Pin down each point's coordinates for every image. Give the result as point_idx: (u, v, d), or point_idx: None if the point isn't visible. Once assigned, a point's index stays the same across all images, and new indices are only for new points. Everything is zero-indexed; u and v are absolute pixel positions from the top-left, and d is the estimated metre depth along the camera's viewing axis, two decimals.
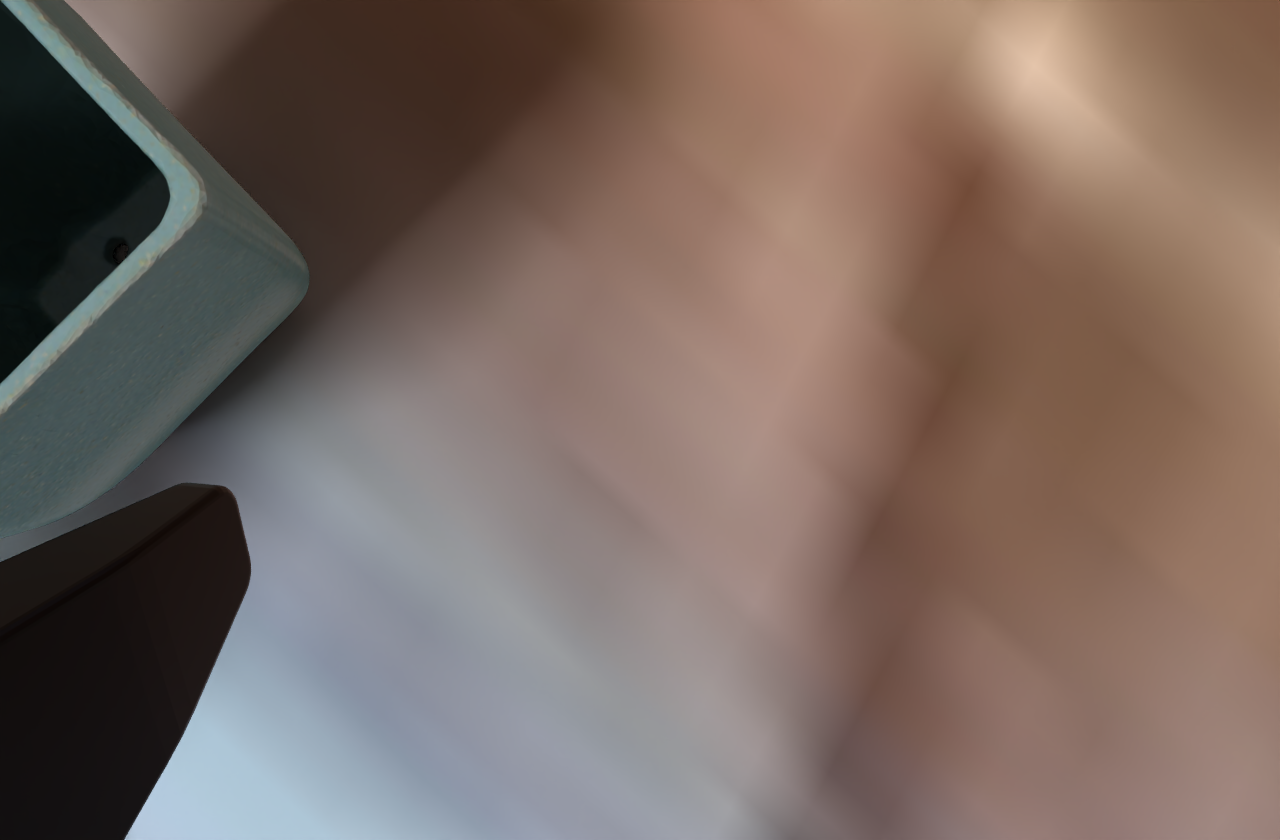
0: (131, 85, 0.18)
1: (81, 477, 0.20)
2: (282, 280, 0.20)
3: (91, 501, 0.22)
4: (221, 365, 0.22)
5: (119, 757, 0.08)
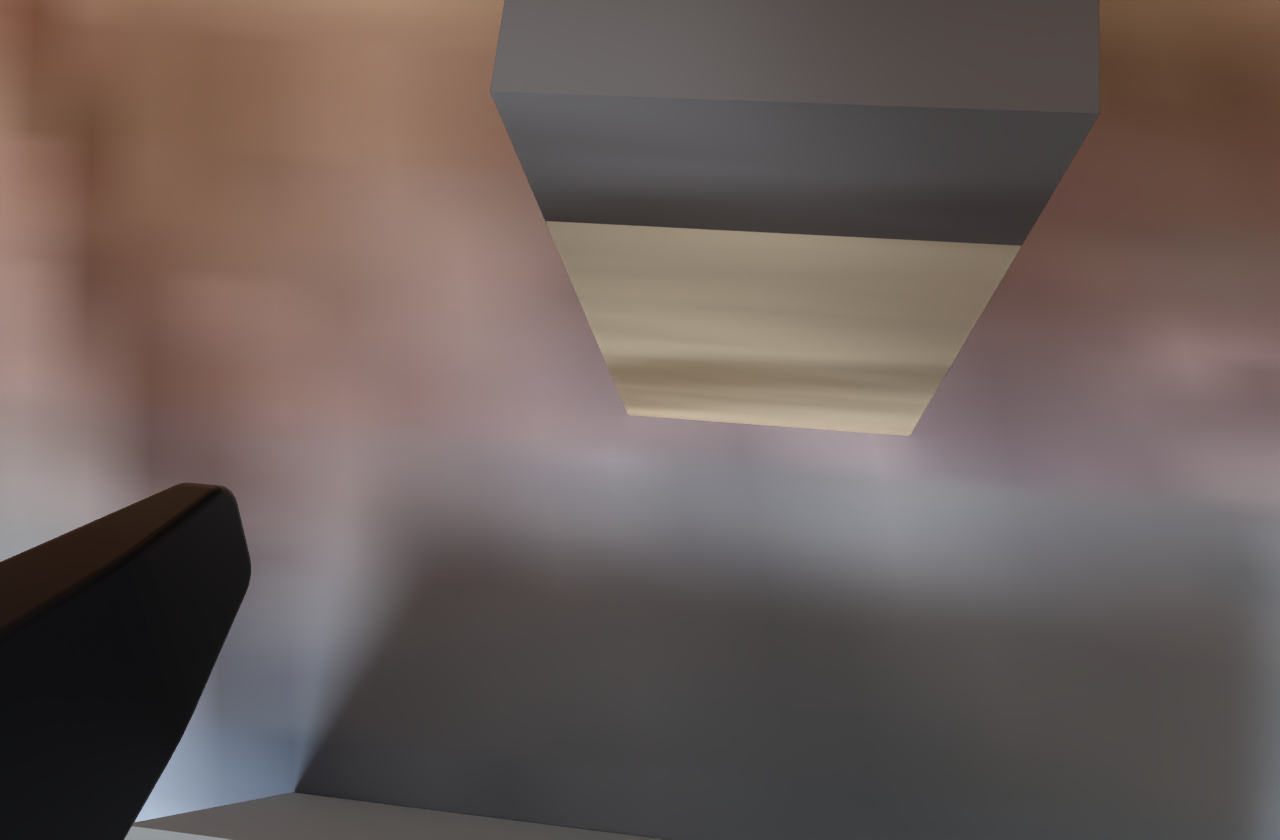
0: None
1: None
2: None
3: None
4: None
5: (119, 757, 0.08)
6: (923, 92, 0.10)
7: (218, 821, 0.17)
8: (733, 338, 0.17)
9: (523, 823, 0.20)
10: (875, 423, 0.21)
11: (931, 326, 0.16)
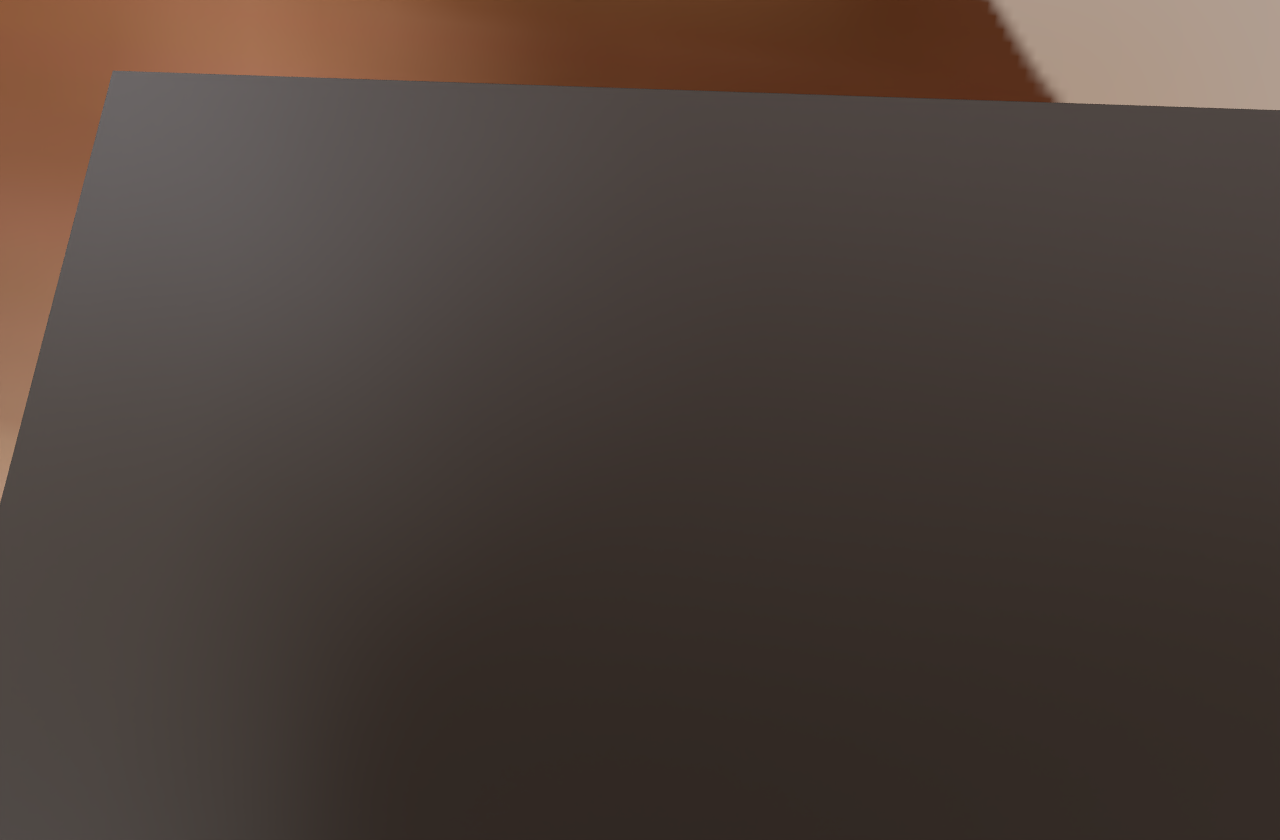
0: None
1: None
2: None
3: None
4: None
5: None
6: None
7: None
8: None
9: None
10: None
11: None
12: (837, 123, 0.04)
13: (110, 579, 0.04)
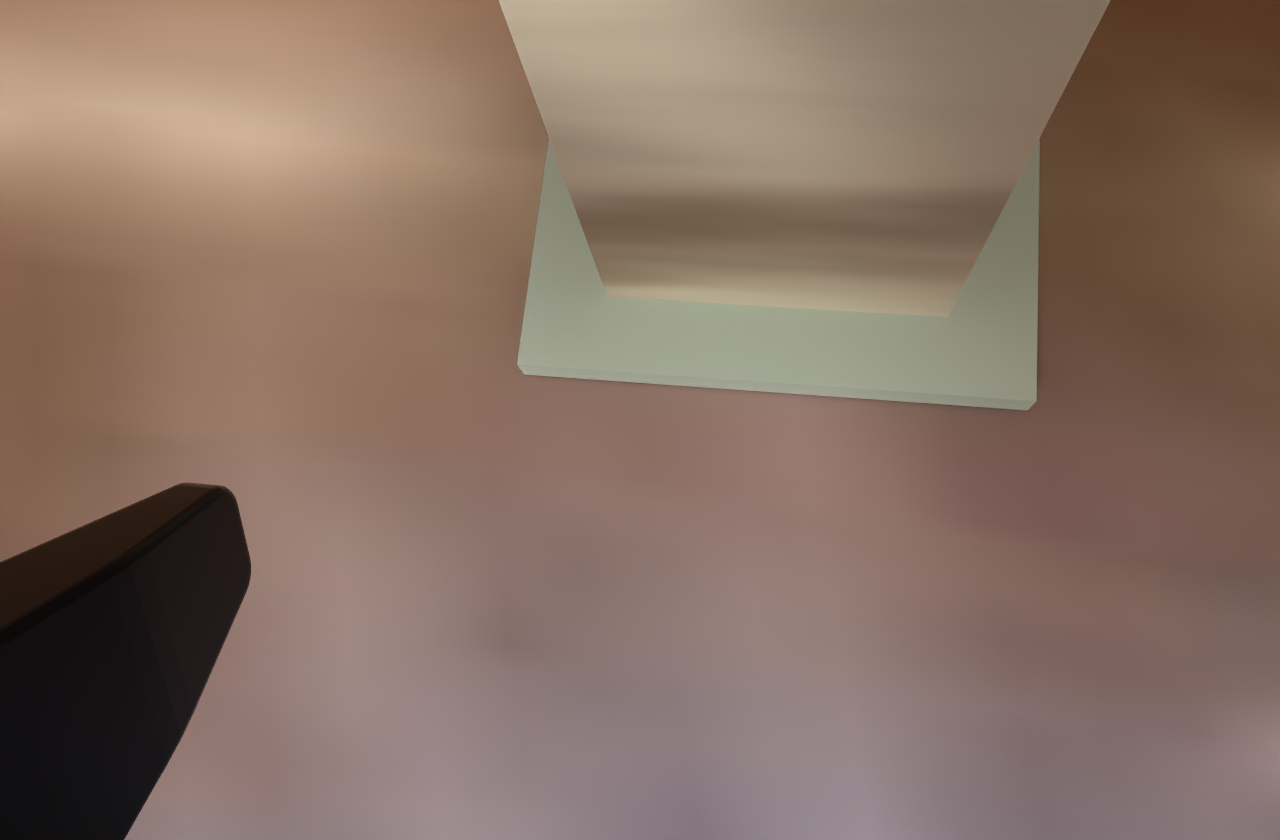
0: None
1: None
2: None
3: None
4: None
5: (119, 757, 0.08)
6: None
7: None
8: (732, 154, 0.13)
9: None
10: (907, 296, 0.17)
11: (994, 116, 0.12)
12: None
13: None
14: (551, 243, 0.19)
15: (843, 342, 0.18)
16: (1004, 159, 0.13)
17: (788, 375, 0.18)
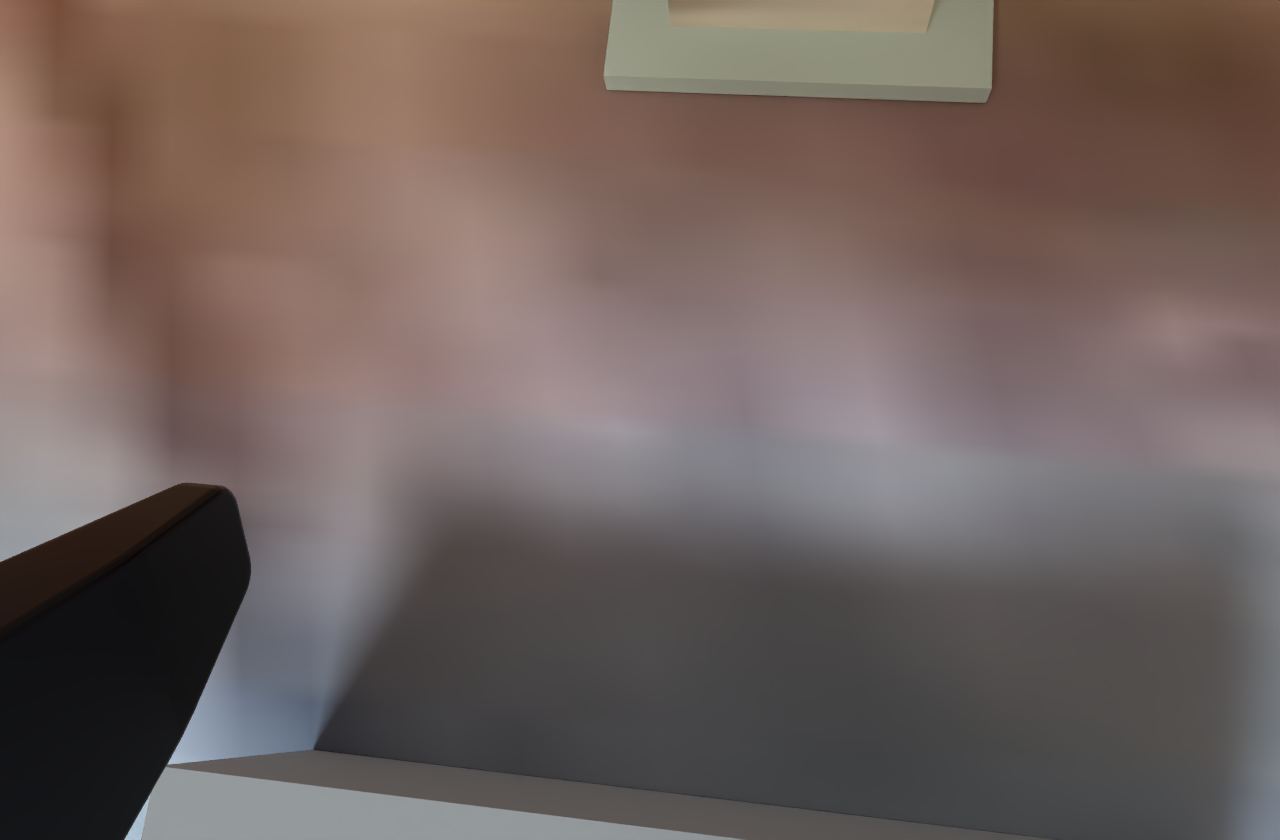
0: None
1: None
2: None
3: None
4: None
5: (119, 757, 0.08)
6: None
7: (245, 766, 0.18)
8: None
9: (535, 777, 0.21)
10: (895, 9, 0.24)
11: None
12: None
13: None
14: None
15: (848, 52, 0.24)
16: None
17: (807, 76, 0.24)
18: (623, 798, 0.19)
